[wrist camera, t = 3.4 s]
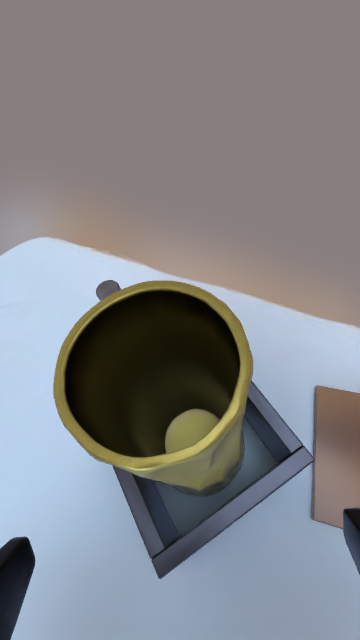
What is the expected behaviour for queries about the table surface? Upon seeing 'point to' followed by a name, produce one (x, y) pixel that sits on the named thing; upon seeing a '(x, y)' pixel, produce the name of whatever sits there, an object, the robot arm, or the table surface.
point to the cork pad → (336, 454)
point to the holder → (174, 549)
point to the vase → (158, 385)
